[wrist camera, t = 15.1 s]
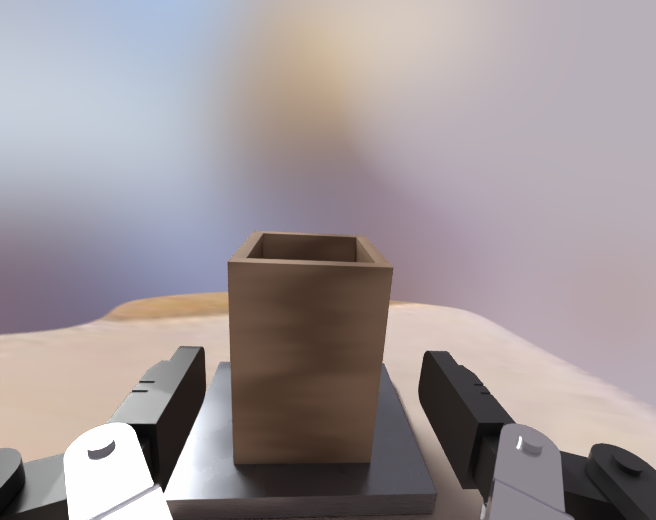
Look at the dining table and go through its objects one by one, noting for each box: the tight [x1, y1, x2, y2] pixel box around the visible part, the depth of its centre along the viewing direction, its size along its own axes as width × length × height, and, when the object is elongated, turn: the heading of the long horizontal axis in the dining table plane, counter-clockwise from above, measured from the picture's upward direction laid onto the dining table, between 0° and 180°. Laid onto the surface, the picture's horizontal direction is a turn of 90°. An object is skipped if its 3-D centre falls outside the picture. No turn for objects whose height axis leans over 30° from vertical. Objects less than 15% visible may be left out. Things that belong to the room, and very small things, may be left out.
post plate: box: [163, 362, 437, 520], centre depth 18 cm, size 12×10×8 cm
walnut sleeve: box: [228, 231, 393, 464], centre depth 17 cm, size 7×7×10 cm
